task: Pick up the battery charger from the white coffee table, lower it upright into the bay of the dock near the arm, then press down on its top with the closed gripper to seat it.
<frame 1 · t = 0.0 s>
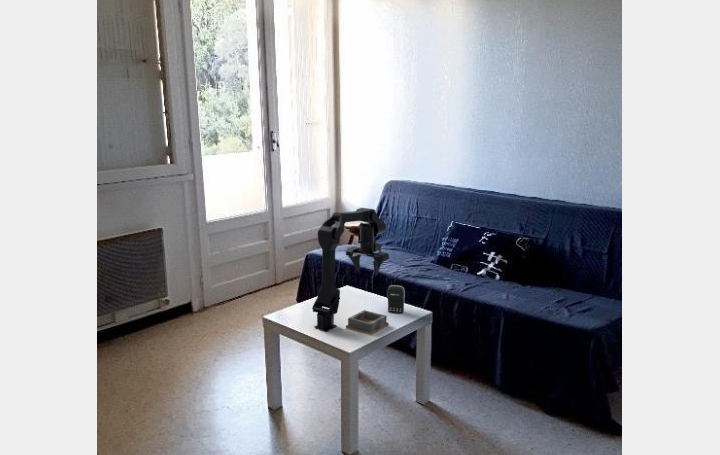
hand: (367, 273, 246), 15 cm above the table, tool pointing down, fingers open, 9 cm apart
dock: (367, 326, 227), on the table
battery charger: (395, 313, 241), on the table
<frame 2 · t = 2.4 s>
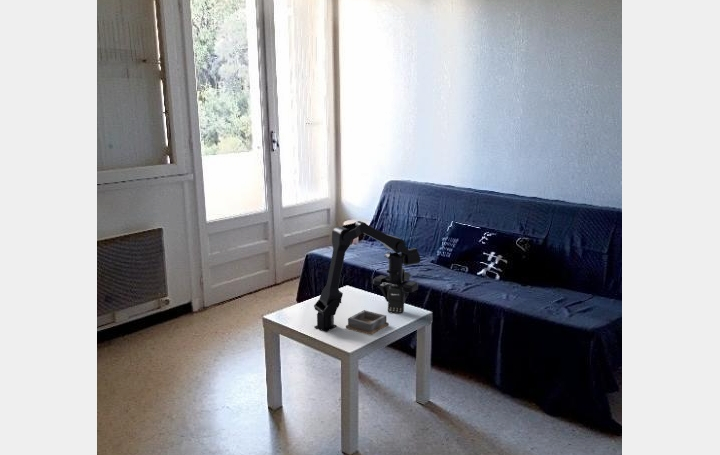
hand: (395, 303, 241), 4 cm above the table, tool pointing down, fingers closed on battery charger, 7 cm apart
battery charger: (395, 312, 241), on the table, touching gripper
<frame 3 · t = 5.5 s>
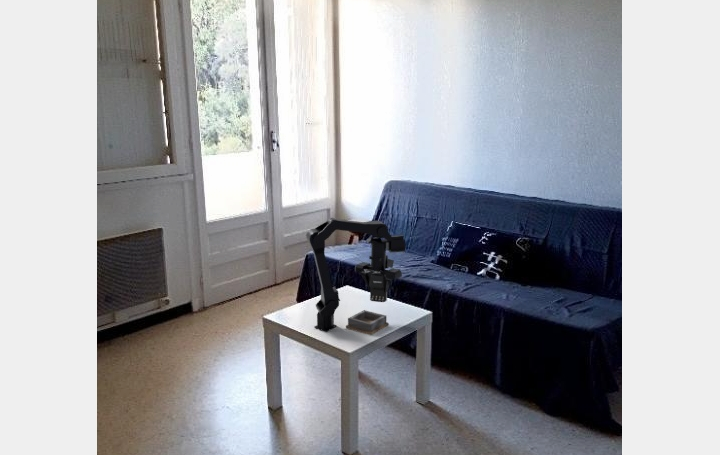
hand: (377, 291, 230), 13 cm above the table, tool pointing down, fingers closed on battery charger, 7 cm apart
battery charger: (378, 301, 230), point 8 cm above the table, touching gripper
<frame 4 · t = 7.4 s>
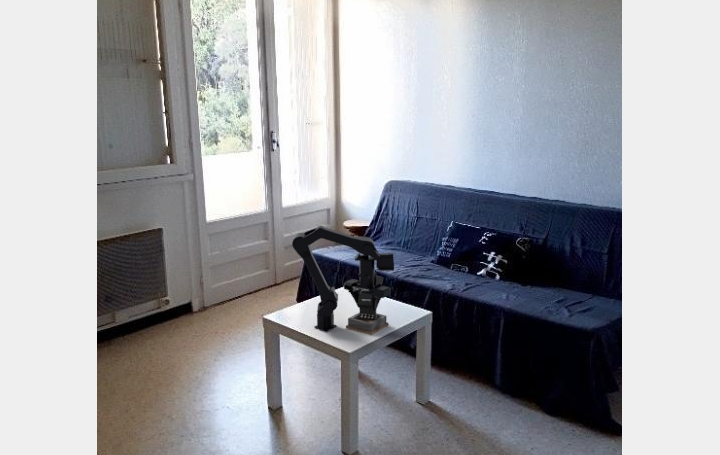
hand: (366, 309, 225), 7 cm above the table, tool pointing down, fingers closed on battery charger, 7 cm apart
battery charger: (367, 319, 226), point 3 cm above the table, touching gripper
when the fingers open (6 cm above the table, at t = 8.7 s): battery charger stays where it is, resting on dock.
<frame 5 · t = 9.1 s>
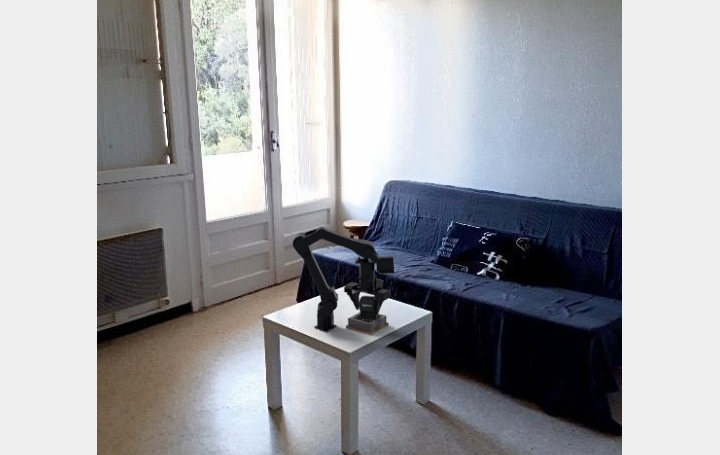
hand: (367, 312, 226), 6 cm above the table, tool pointing down, fingers open, 9 cm apart
battery charger: (368, 324, 227), point 1 cm above the table, touching dock
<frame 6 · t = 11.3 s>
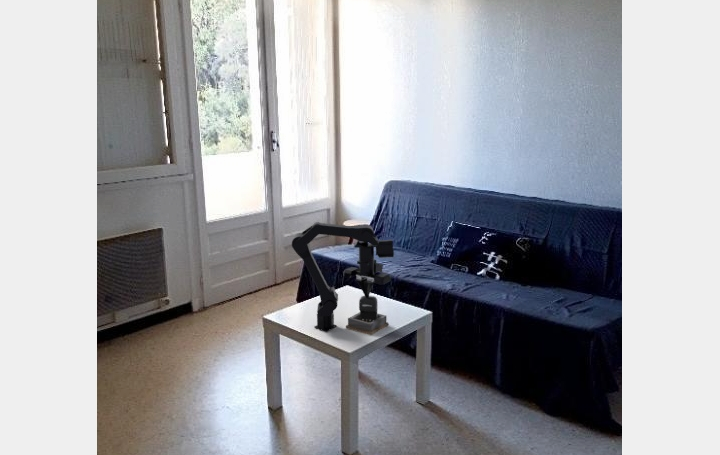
hand: (367, 296, 224), 12 cm above the table, tool pointing down, fingers closed, pressing on battery charger
battery charger: (368, 325, 227), point 1 cm above the table, touching dock, gripper
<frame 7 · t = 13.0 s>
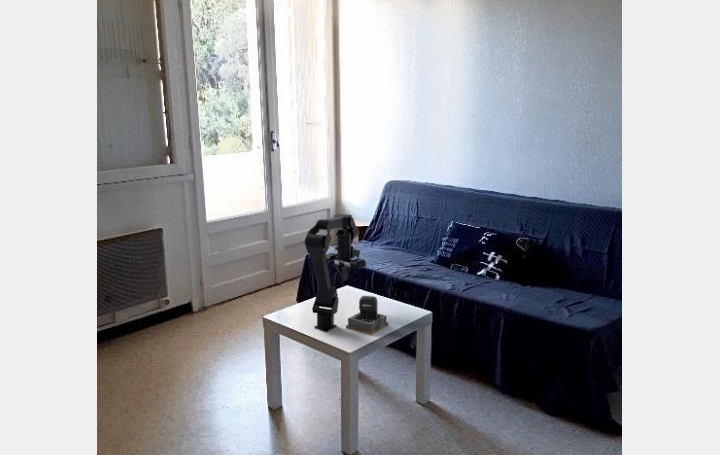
hand: (344, 280, 241), 13 cm above the table, tool pointing down, fingers closed
battery charger: (368, 324, 227), point 1 cm above the table, touching dock
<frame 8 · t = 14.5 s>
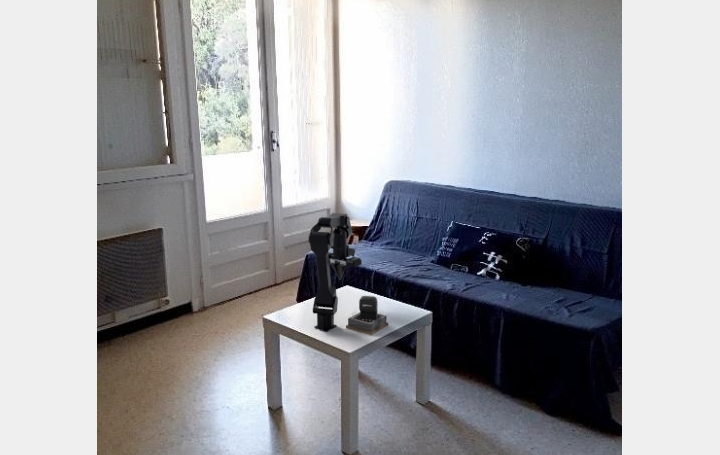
hand: (340, 279, 244), 13 cm above the table, tool pointing down, fingers closed
nothing on the table moved.
at the end: battery charger 0.4 cm off-centre on the dock, point 0.8 cm above the dock's base; battery charger tilted 0°; the gripper is holding nothing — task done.
